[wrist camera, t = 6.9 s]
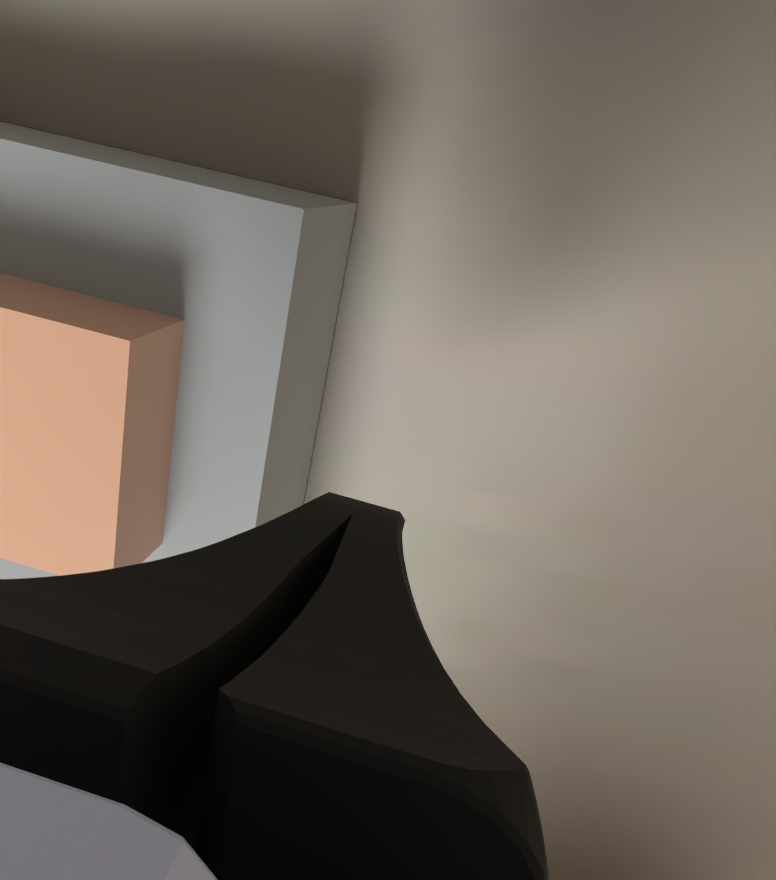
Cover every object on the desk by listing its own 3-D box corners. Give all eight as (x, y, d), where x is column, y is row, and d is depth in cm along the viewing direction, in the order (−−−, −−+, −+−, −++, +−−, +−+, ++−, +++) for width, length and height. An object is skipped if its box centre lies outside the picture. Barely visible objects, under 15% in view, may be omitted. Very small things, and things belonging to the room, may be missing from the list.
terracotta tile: (162, 543, 16) (111, 591, 14) (-44, 483, 16) (-119, 521, 14) (184, 319, 14) (129, 340, 12) (-49, 260, 14) (-135, 272, 13)
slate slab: (261, 738, 22) (205, 848, 19) (-31, 645, 23) (-137, 731, 20) (357, 203, 16) (303, 209, 13) (-37, 112, 18) (-191, 94, 14)
